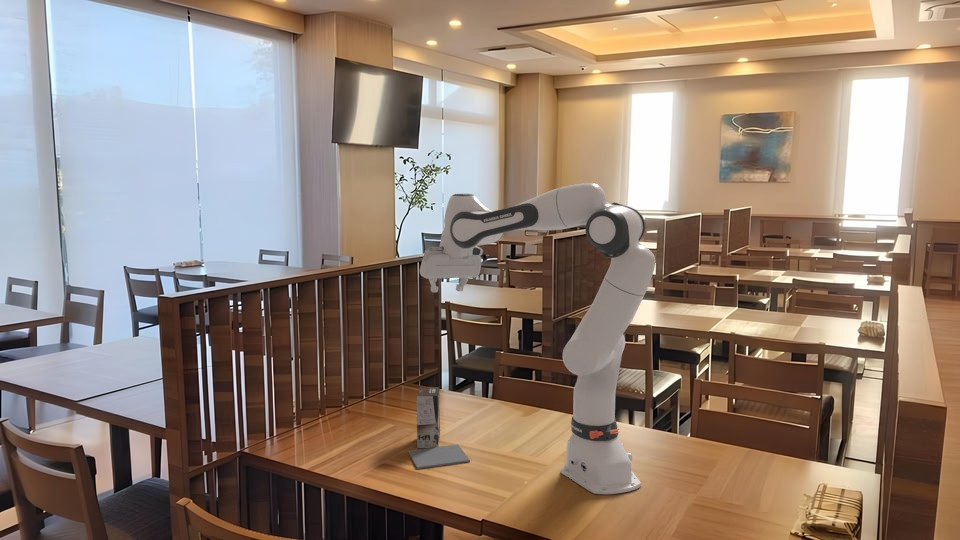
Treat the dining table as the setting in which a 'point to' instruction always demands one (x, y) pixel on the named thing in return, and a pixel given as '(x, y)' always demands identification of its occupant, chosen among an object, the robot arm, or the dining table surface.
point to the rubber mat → (438, 456)
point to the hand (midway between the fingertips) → (446, 291)
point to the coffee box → (428, 417)
